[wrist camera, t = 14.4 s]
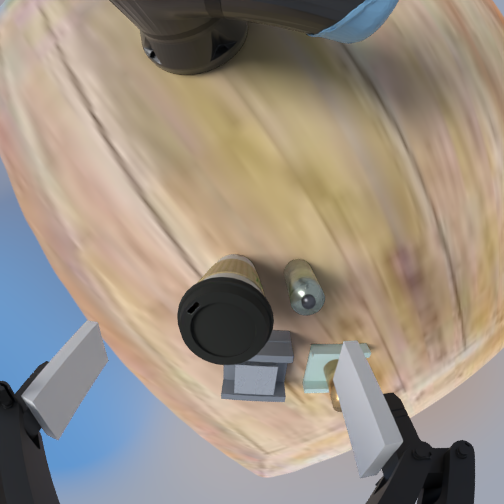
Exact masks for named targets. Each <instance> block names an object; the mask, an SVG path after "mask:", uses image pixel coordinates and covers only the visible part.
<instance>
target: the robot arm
mask: <svg viewBox="0 0 504 504" xmlns="http://www.w3.org/2000/svg"><path fill="white" fill-rule="evenodd" d="M109 1H111V2H112V3H113V4H114V5H115V6H116V7H117V8H118V9H119V10H120V11H121V12H122V13H123V14H124V15H125V16H126V17H127V18H129V19H130V20H131V21H132V22H133V23H134V24H135V25H136V26H137V27H138V28H139V29H140V34H141V40H142V46H143V49H144V51H145V53H146V55H147V56H148V57H149V59H150V60H151V61H152V62H154V63H155V64H156V65H157V66H158V67H159V68H161V69H163V70H165V71H167V72H170V73H175V74H183V75H189V74H198V73H202V72H206V71H209V70H212V69H214V68H216V67H218V66H220V65H222V64H224V63H225V62H227V61H228V60H230V59H231V58H232V57H233V56H234V55H235V54H236V53H237V52H238V51H239V50H240V48H241V47H242V45H243V44H244V42H245V39H246V36H247V31H248V24H247V21H248V22H254V23H261V24H266V25H272V26H277V27H282V28H286V29H291V30H295V31H299V32H303V33H306V35H308V36H311V37H323V38H327V39H330V40H334V41H337V42H341V43H348V44H351V43H355V42H360V41H362V40H364V39H366V38H368V37H369V36H371V35H372V34H373V33H374V32H375V31H376V30H378V29H379V28H380V26H381V25H382V24H383V23H384V22H385V21H386V19H387V18H388V17H389V15H390V14H391V13H392V11H393V9H394V8H395V6H396V4H397V3H398V1H399V0H109ZM107 362H108V357H107V354H106V351H105V347H104V344H103V340H102V336H101V332H100V328H99V324H98V322H94V321H88V320H87V321H86V322H85V323H84V324H83V325H82V327H81V328H80V329H79V330H78V331H77V332H76V333H75V334H74V335H73V336H72V337H71V338H70V339H69V340H68V342H67V343H66V344H65V345H64V346H63V347H62V348H61V349H60V350H59V352H58V353H57V354H56V355H55V356H54V357H53V358H52V360H51V361H50V362H48V361H46V362H45V363H43V364H41V365H39V366H38V368H37V369H36V370H35V371H34V373H32V374H31V376H30V378H28V379H27V380H26V381H25V383H24V384H23V385H22V386H21V388H20V389H19V390H18V391H17V392H16V393H15V394H14V392H13V391H12V389H11V387H10V385H9V384H8V383H7V382H5V381H0V504H60V503H59V500H58V497H57V494H56V491H55V488H54V485H53V482H52V479H51V475H50V471H49V468H48V464H47V460H46V455H45V451H44V446H43V441H42V436H41V434H40V432H39V431H40V429H41V428H42V429H43V430H44V432H45V433H46V434H47V435H48V436H50V437H52V438H54V439H57V440H59V438H60V437H61V435H62V433H63V432H64V430H65V428H66V426H67V425H68V423H69V422H70V420H71V418H72V417H73V415H74V413H75V412H76V410H77V408H78V407H79V405H80V403H81V402H82V400H83V399H84V397H85V396H86V394H87V392H88V391H89V389H90V388H91V386H92V385H93V383H94V382H95V380H96V379H97V377H98V375H99V374H100V372H101V371H102V369H103V368H104V366H105V365H106V363H107ZM333 382H334V385H335V388H336V392H337V395H338V399H339V402H340V406H341V409H342V413H343V416H344V420H345V423H346V427H347V430H348V434H349V438H350V441H351V445H352V449H353V453H354V456H355V460H356V464H357V468H358V472H359V476H360V478H364V477H369V476H374V475H377V474H378V473H379V471H380V470H381V469H382V471H383V474H384V476H383V477H382V478H381V479H380V480H379V481H378V482H377V483H376V486H377V487H376V488H375V490H374V492H373V493H372V495H371V496H370V498H369V499H368V501H367V503H366V504H415V502H416V500H417V498H418V500H417V504H474V491H475V454H474V449H473V446H472V445H471V444H470V443H468V442H467V441H463V440H460V441H457V442H455V443H453V445H452V446H451V447H450V448H432V447H431V446H430V445H429V444H428V443H426V442H423V441H421V440H420V439H419V437H418V435H417V433H416V430H415V428H414V426H413V424H412V422H411V420H410V418H409V416H408V414H407V412H406V410H405V409H404V408H405V407H404V405H403V403H402V401H401V399H399V398H398V397H397V396H396V395H395V394H394V393H387V394H383V393H382V391H381V389H380V387H379V385H378V382H377V380H376V378H375V376H374V374H373V372H372V370H371V368H370V366H369V363H368V361H367V359H366V357H365V355H364V353H363V351H362V349H361V347H360V345H359V343H358V341H343V345H342V349H341V353H340V356H339V360H338V364H337V367H336V371H335V374H334V377H333Z"/></svg>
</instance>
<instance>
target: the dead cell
mask: <svg viewBox="0 0 504 504" xmlns="http://www.w3.org/2000/svg"><path fill="white" fill-rule="evenodd" d="M284 277H285V281H286V285H287V289H288V294H289V298H290V302H291V306H292V308H293V310H294V311H295V312H297V313H298V314H301V315H312V314H314V313H316V312H318V311H319V310H320V309H321V308H322V306H323V304H324V301H325V295H324V292H323V290H322V288H321V286H320V285H319V283H318V281H317V279H316V277H315V275H314V273H313V271H312V269H311V267H310V265H309V264H308V263H307V262H306V261H305V260H302V259H295V260H292V261H290V262H289V263H288V264H287V265H286V267H285V269H284Z"/></svg>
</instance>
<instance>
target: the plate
mask: <svg viewBox="0 0 504 504" xmlns="http://www.w3.org/2000/svg"><path fill="white" fill-rule="evenodd" d="M277 370H278V363H276V362H254V361H245V362H243V363H239V364H235V386H234V393H241V394H258V395H273V394H274V388H275V382H276V376H277Z"/></svg>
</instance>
